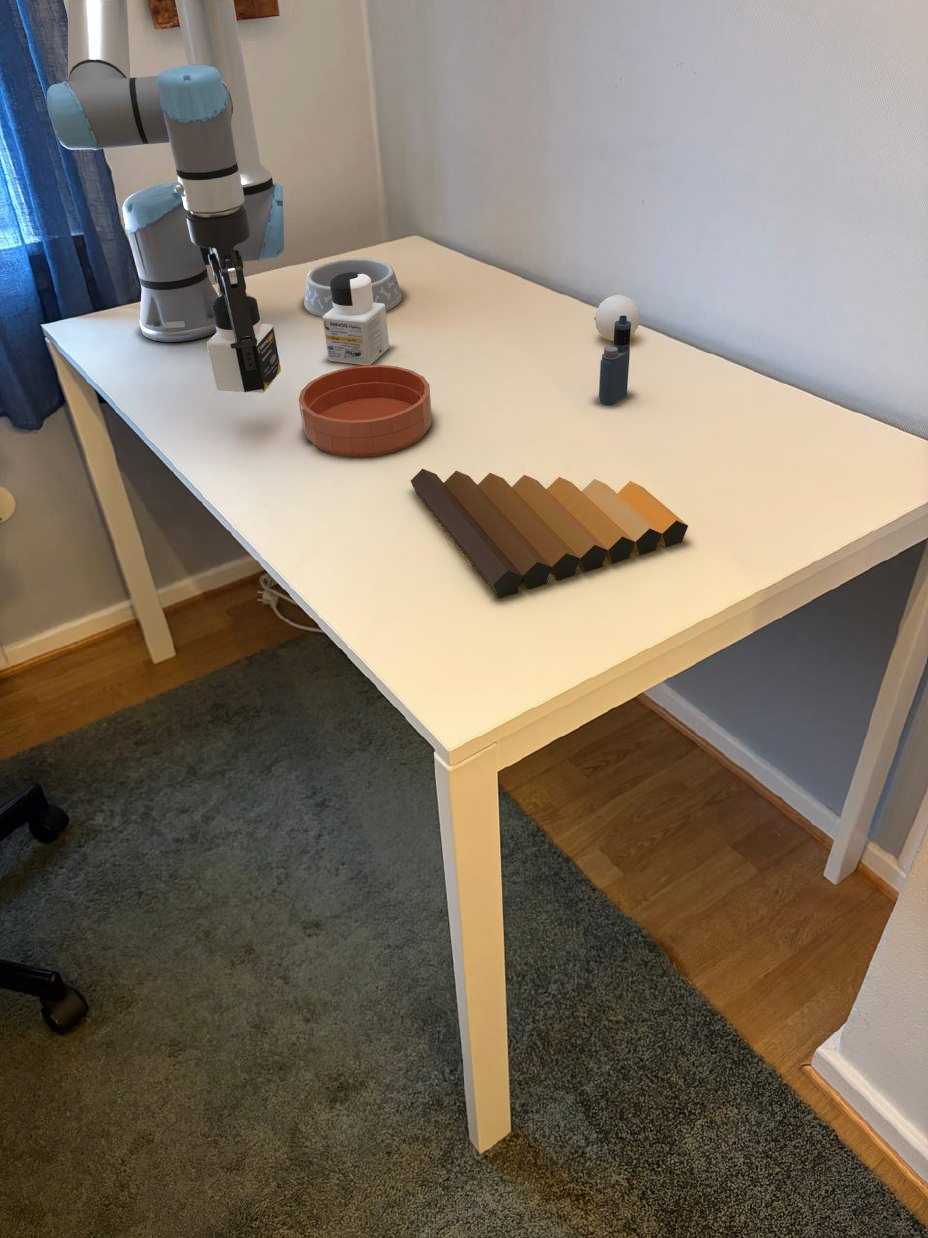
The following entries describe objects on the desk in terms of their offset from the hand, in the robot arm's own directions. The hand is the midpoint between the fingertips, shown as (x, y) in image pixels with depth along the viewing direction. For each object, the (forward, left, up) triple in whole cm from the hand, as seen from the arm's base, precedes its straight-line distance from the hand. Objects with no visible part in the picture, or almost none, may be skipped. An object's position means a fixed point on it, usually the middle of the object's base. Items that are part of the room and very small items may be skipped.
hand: (248, 374), depth 134 cm
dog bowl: (-45, +25, -8) cm, 52 cm away
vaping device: (+12, +51, -8) cm, 53 cm away
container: (-20, +20, -8) cm, 29 cm away
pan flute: (+38, +29, -8) cm, 49 cm away
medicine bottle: (0, 0, -1) cm, 1 cm away
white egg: (-9, +61, -8) cm, 62 cm away
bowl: (+6, +15, -8) cm, 18 cm away
